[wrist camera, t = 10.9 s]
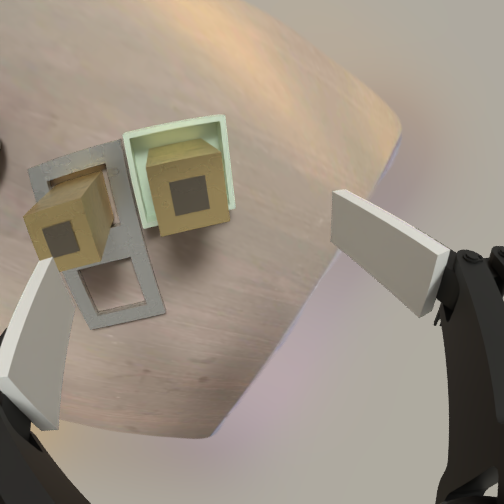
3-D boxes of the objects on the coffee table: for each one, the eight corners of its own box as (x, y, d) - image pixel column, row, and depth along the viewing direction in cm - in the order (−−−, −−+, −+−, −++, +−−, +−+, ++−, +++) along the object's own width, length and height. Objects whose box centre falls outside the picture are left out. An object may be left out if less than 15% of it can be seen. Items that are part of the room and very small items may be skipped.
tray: (143, 219, 28) (143, 229, 26) (125, 132, 24) (122, 134, 22) (229, 200, 30) (235, 208, 28) (219, 114, 26) (225, 114, 24)
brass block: (158, 198, 27) (161, 237, 20) (148, 148, 25) (145, 168, 17) (208, 187, 29) (230, 222, 21) (201, 138, 26) (221, 152, 18)
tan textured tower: (70, 229, 26) (45, 276, 18) (57, 183, 24) (22, 217, 16) (113, 217, 27) (100, 262, 20) (101, 170, 25) (80, 198, 17)
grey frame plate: (91, 325, 32) (90, 329, 31) (30, 167, 22) (27, 169, 21) (165, 308, 34) (166, 313, 33) (121, 138, 24) (120, 139, 23)
